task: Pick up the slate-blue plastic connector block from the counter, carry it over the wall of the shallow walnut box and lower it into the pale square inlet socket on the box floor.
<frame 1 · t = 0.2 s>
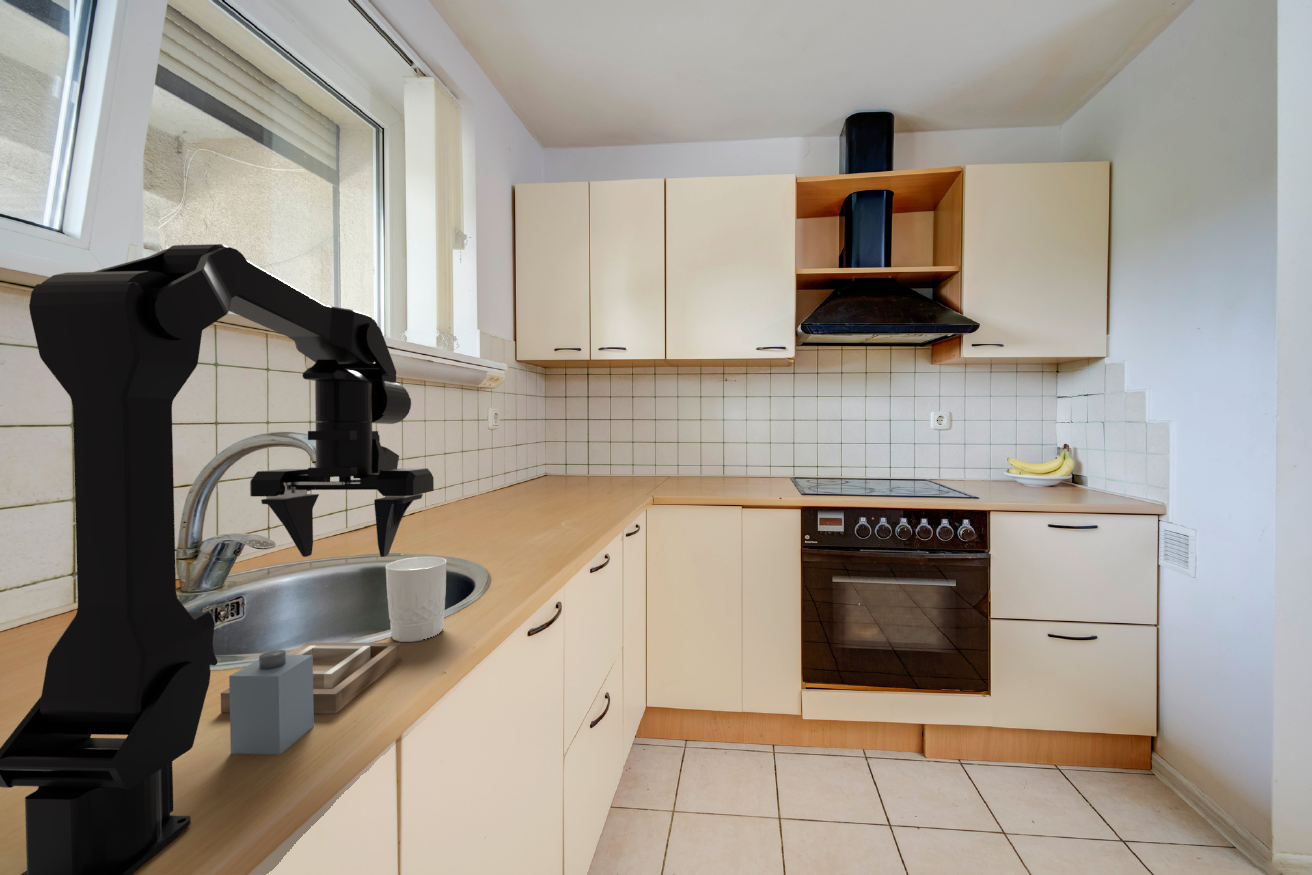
hand: (345, 556, 63), 14 cm above the worktop, tool pointing down, fingers open, 9 cm apart
connector: (274, 739, 50), on the worktop
white cup: (417, 634, 76), on the worktop
walnut box: (320, 682, 61), on the worktop
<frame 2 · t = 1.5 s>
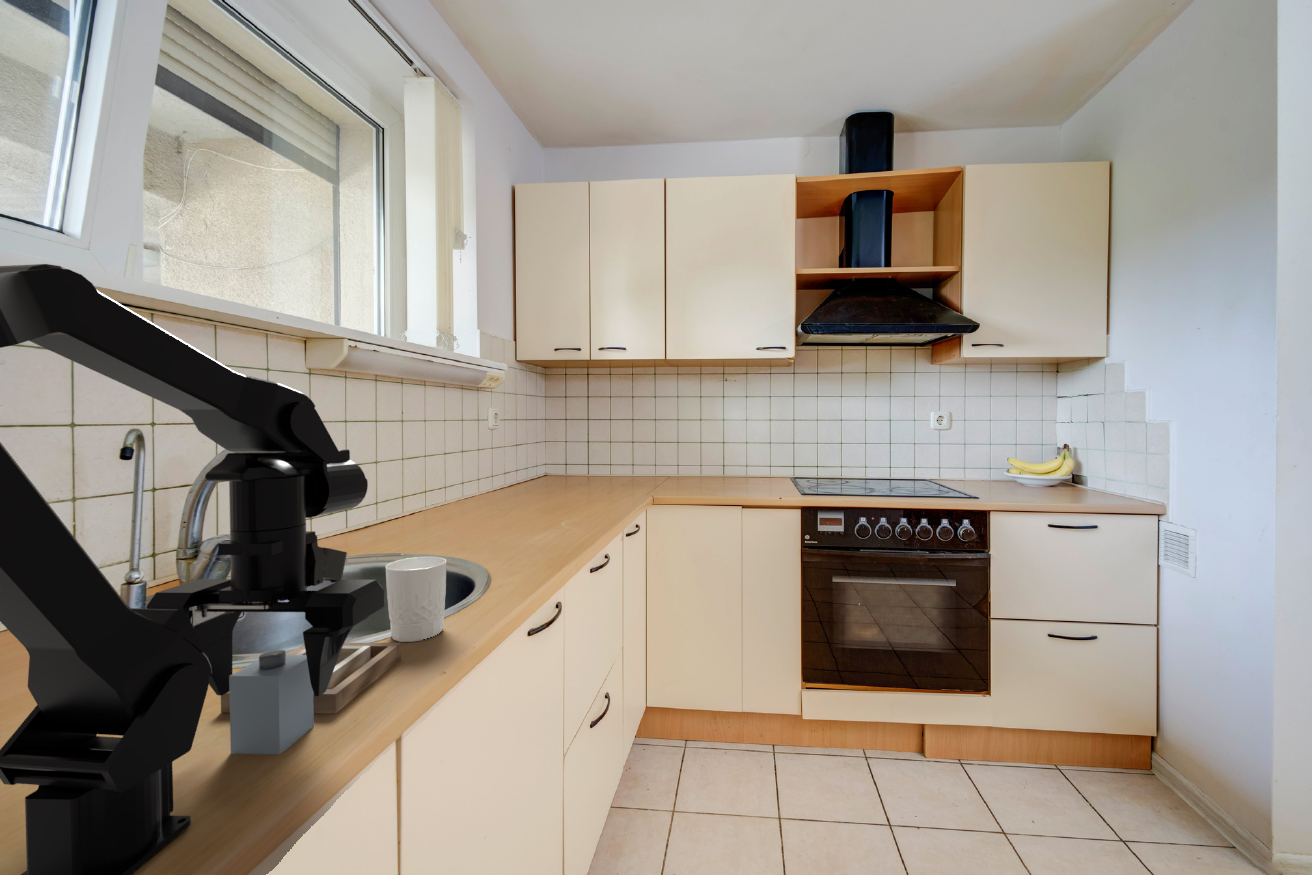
hand: (272, 693, 50), 4 cm above the worktop, tool pointing down, fingers open, 9 cm apart
nothing on the worktop moved.
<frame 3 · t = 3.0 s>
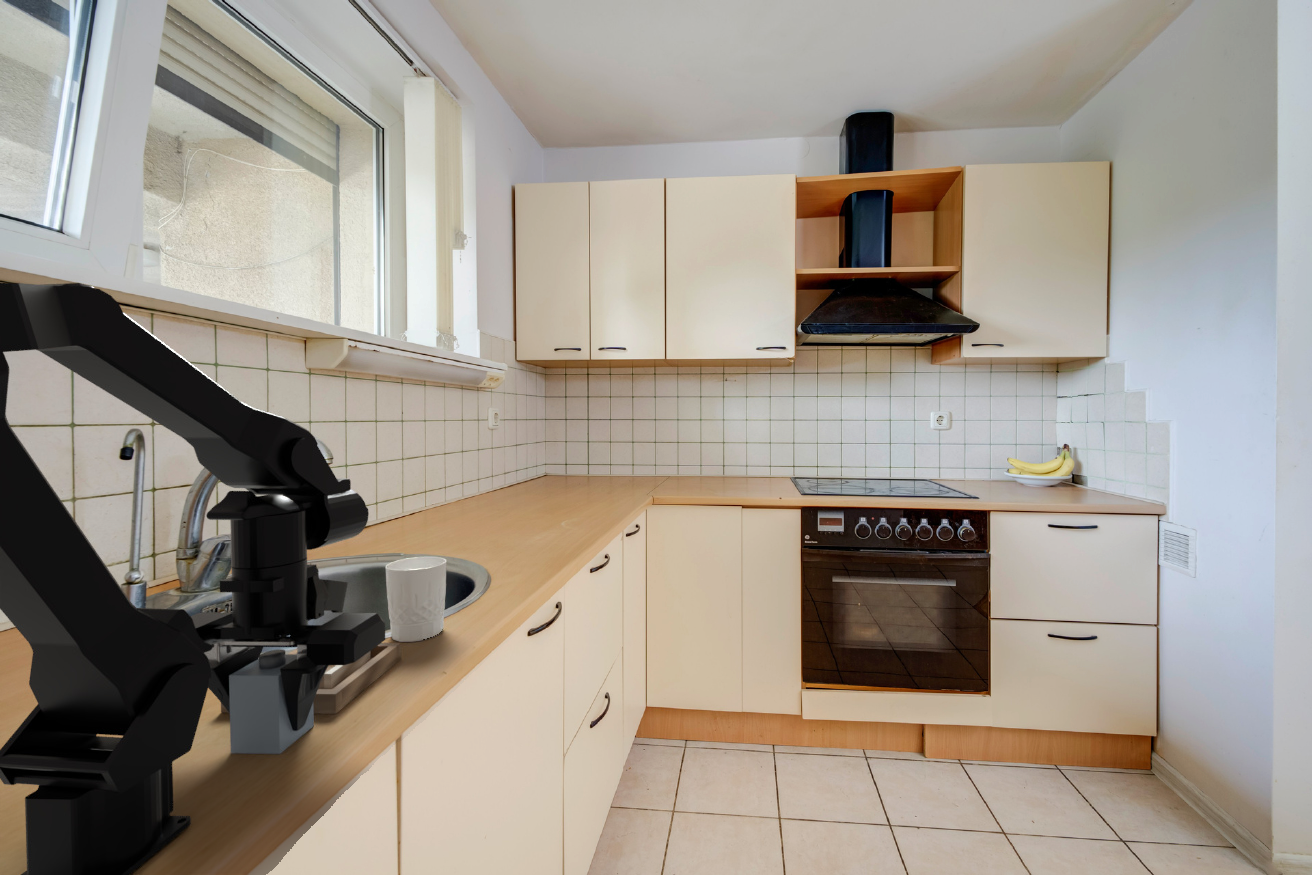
hand: (273, 728, 50), 1 cm above the worktop, tool pointing down, fingers closed on connector, 4 cm apart
connector: (274, 738, 50), on the worktop, touching gripper
everything else where it was.
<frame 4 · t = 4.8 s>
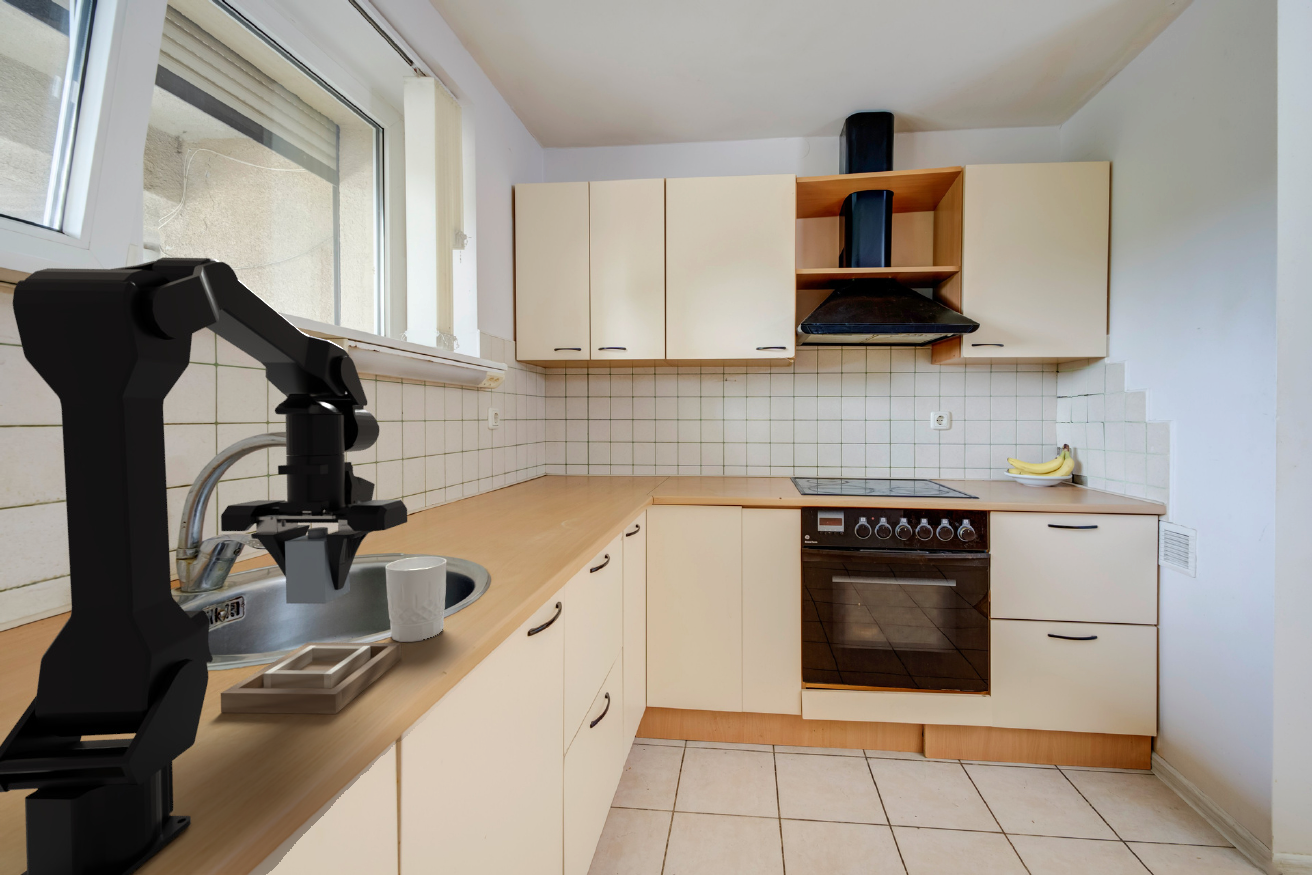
hand: (318, 588, 63), 10 cm above the worktop, tool pointing down, fingers closed on connector, 4 cm apart
connector: (319, 597, 63), point 9 cm above the worktop, touching gripper
everything else where it was.
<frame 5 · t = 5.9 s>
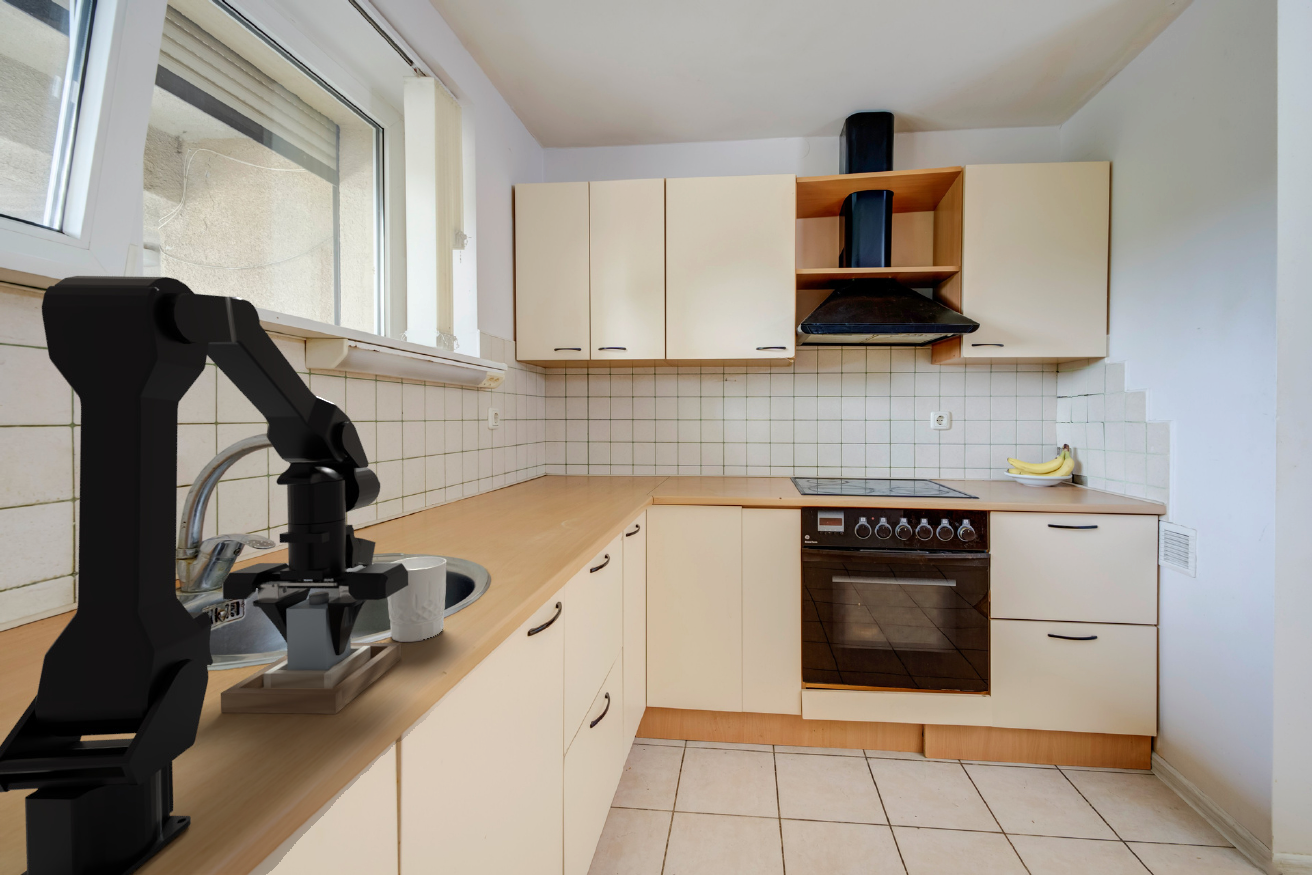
hand: (319, 653, 63), 3 cm above the worktop, tool pointing down, fingers closed on connector, 4 cm apart
connector: (320, 662, 63), point 2 cm above the worktop, touching gripper
everything else where it was.
when the fingers open (3 cm above the worktop, at t = 6.6 s): connector drops 1 cm, resting on walnut box.
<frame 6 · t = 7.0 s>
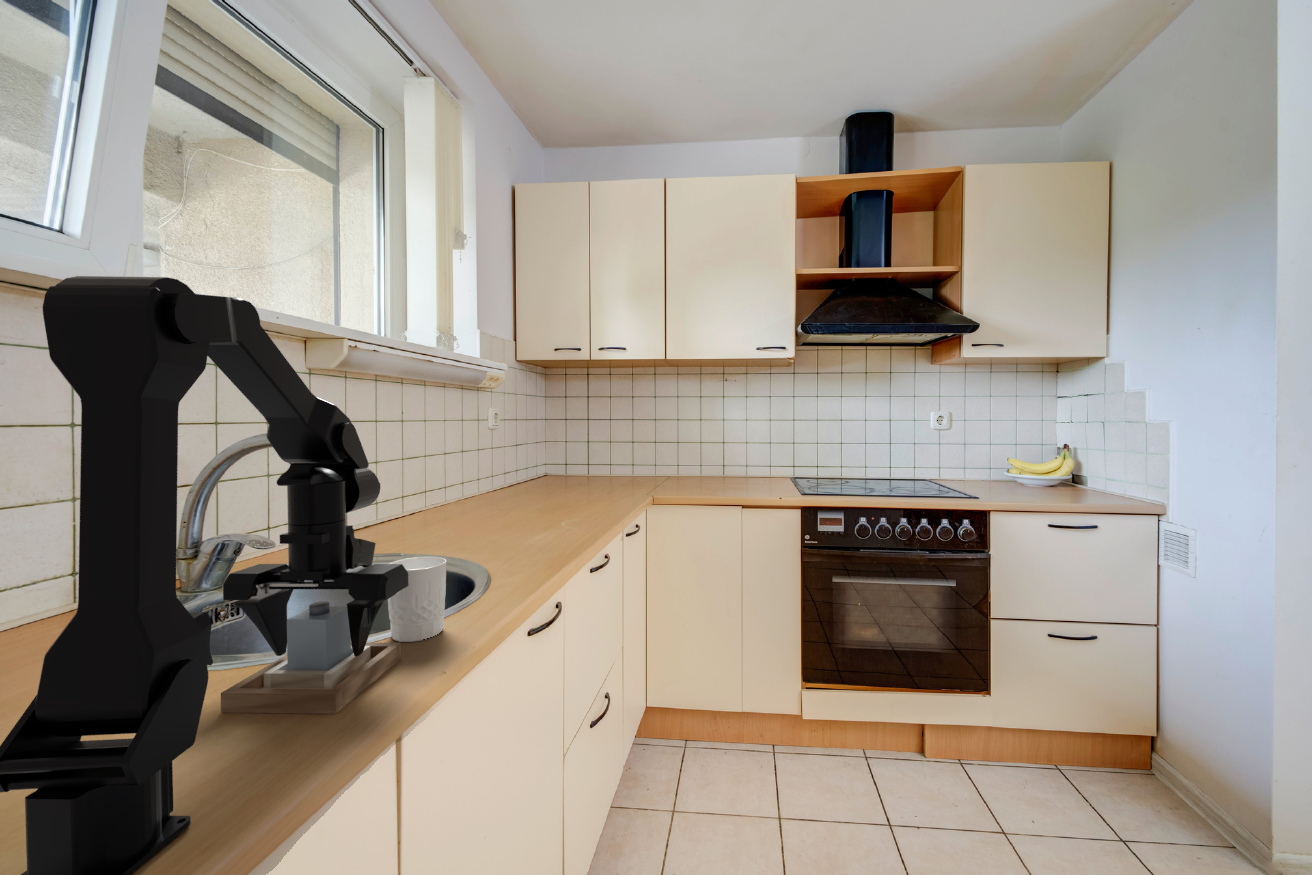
hand: (319, 654, 63), 3 cm above the worktop, tool pointing down, fingers open, 9 cm apart
connector: (320, 672, 63), resting on walnut box
everything else where it was.
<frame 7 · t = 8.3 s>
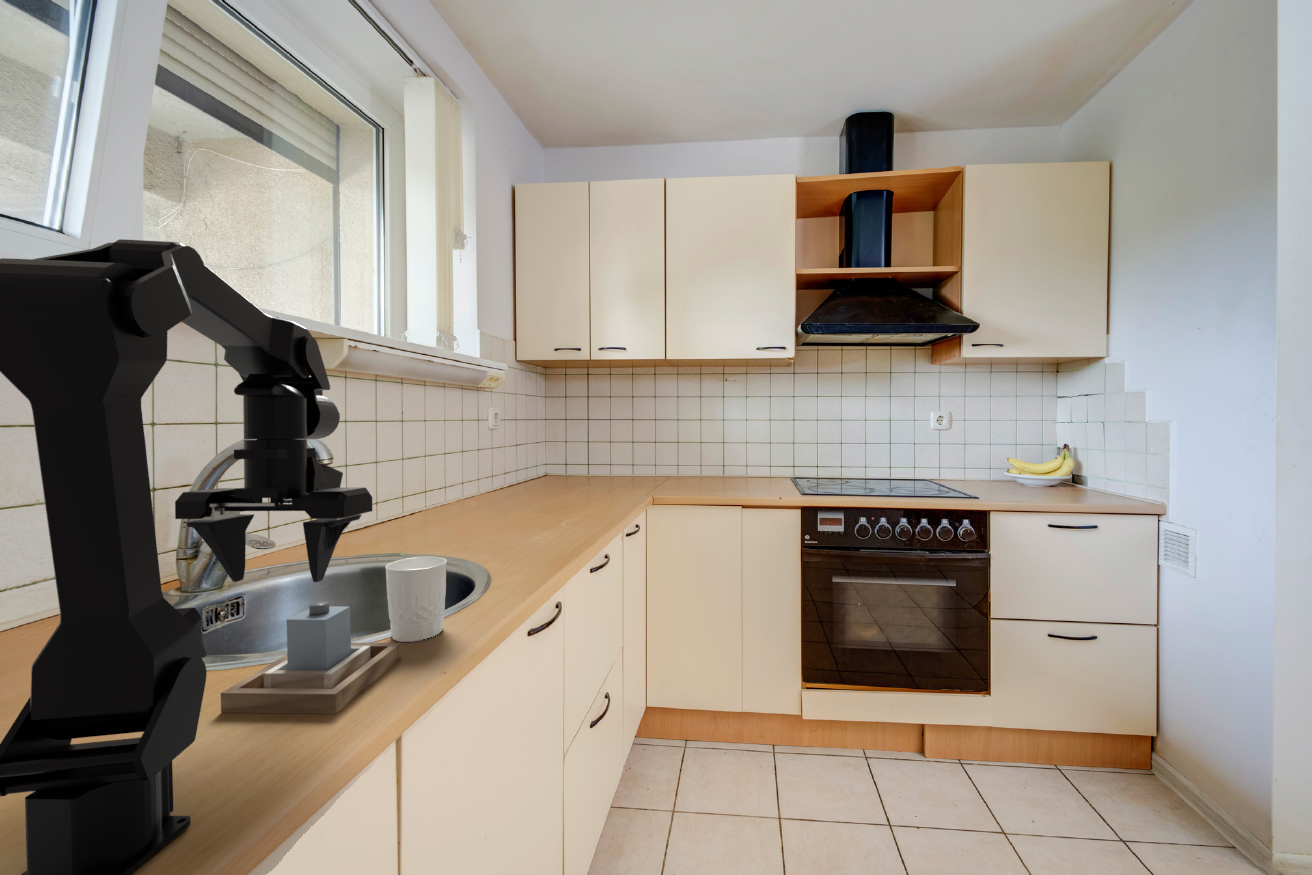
hand: (278, 581, 59), 12 cm above the worktop, tool pointing down, fingers open, 9 cm apart
nothing on the worktop moved.
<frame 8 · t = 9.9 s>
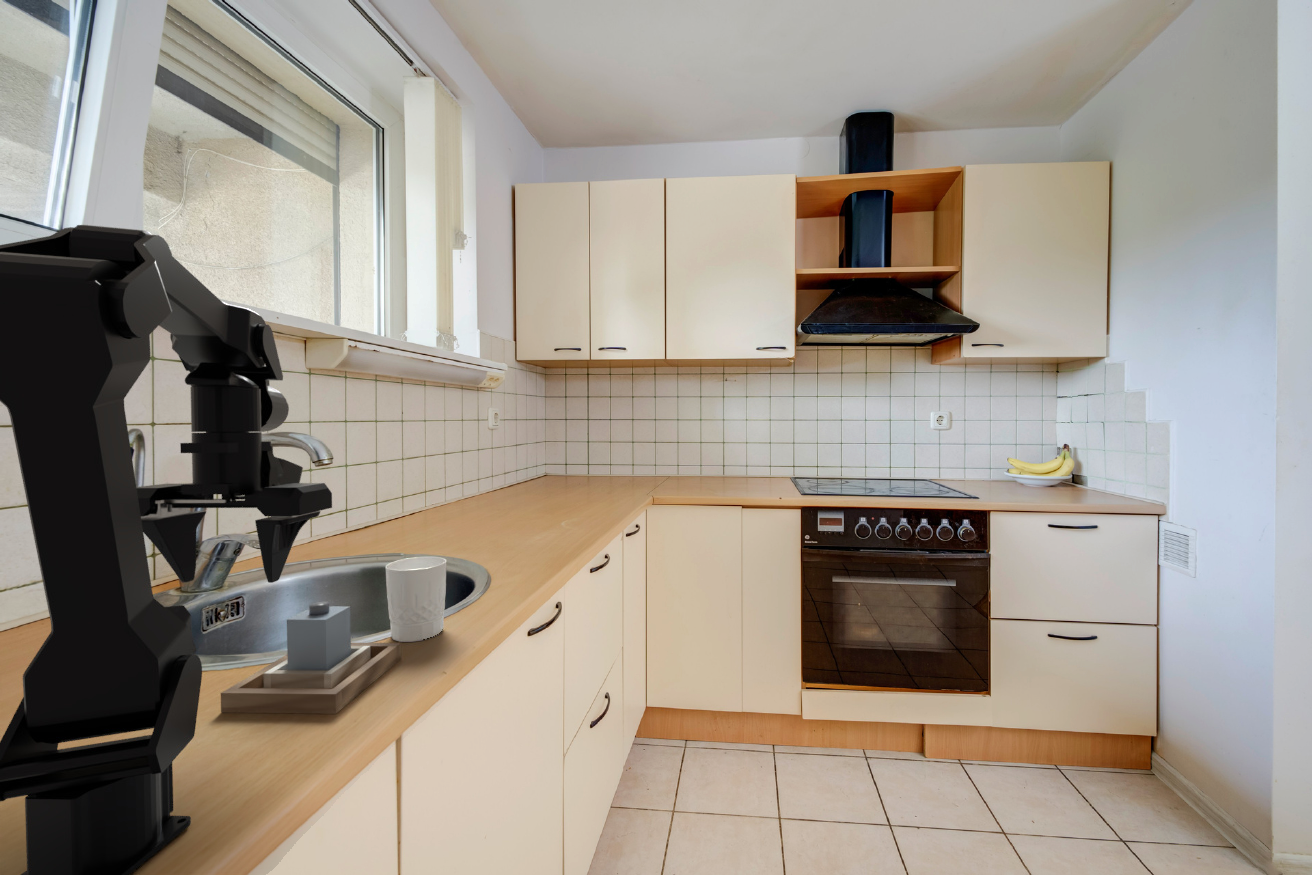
hand: (230, 581, 56), 13 cm above the worktop, tool pointing down, fingers open, 9 cm apart
nothing on the worktop moved.
at the end: connector 0.0 cm from the target spot, point 0.5 cm above the worktop; connector tilted 0°; the gripper is holding nothing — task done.
